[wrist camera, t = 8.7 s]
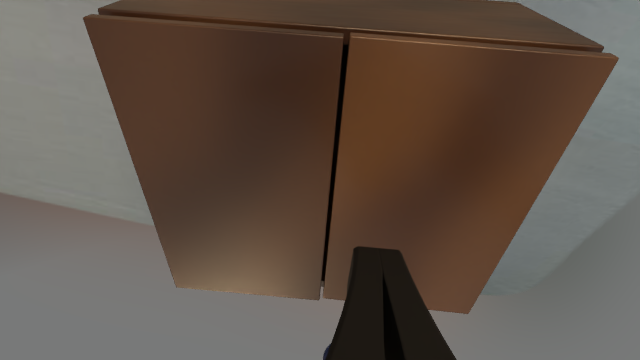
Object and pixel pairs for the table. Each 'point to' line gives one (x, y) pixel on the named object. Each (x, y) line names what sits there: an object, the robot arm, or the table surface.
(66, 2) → the table surface
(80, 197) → the table surface
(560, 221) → the table surface
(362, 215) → the box lid
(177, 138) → the wooden cabinet
